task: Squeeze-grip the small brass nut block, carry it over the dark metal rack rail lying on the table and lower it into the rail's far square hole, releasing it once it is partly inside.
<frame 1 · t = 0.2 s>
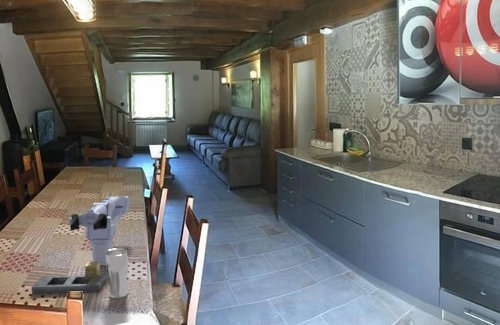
hand: (82, 227, 137), 21 cm above the table, tool horizontal, fingers open, 7 cm apart
nut block: (93, 279, 145), on the table
rack rail: (70, 287, 139), on the table
beer glass: (118, 294, 134), on the table
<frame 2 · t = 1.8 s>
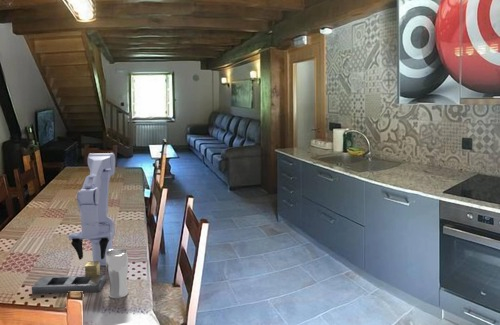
hand: (92, 258, 144), 8 cm above the table, tool pointing down, fingers open, 7 cm apart
nothing on the table moved.
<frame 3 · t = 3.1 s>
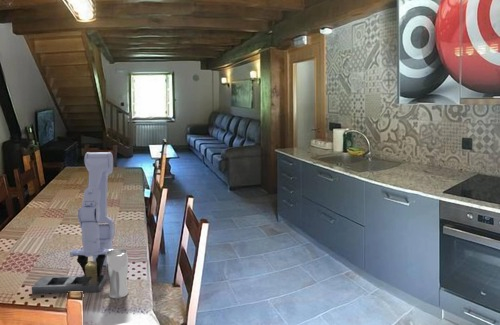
hand: (93, 274, 145), 2 cm above the table, tool pointing down, fingers closed on nut block, 4 cm apart
nut block: (93, 278, 145), on the table, touching gripper
everything else where it was.
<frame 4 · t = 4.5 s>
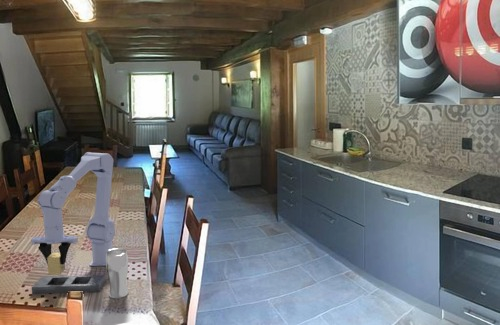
hand: (56, 263, 137), 9 cm above the table, tool pointing down, fingers closed on nut block, 4 cm apart
nut block: (57, 271, 137), point 6 cm above the table, touching gripper
everything else where it was.
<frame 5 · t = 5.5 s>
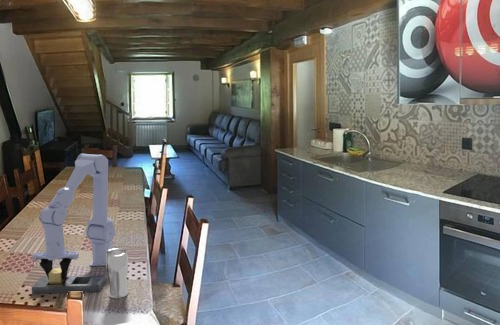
hand: (57, 278, 138), 3 cm above the table, tool pointing down, fingers closed on nut block, 4 cm apart
nut block: (58, 286, 138), resting in rack rail, touching gripper
everything else where it was.
when the fingers open (3 cm above the table, at t = 6.0 s): nut block stays where it is, resting in rack rail.
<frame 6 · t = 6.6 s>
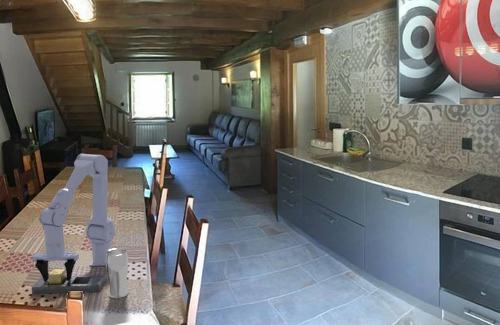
hand: (57, 280, 138), 3 cm above the table, tool pointing down, fingers open, 7 cm apart
nut block: (58, 288, 138), resting in rack rail
everything else where it was.
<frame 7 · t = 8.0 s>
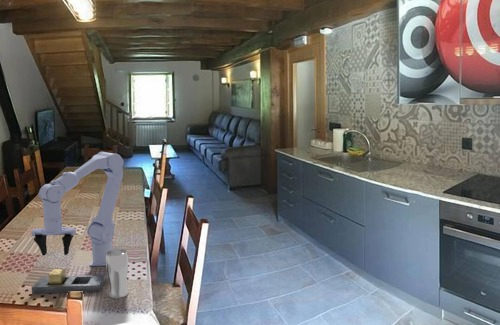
hand: (55, 254, 144), 9 cm above the table, tool pointing down, fingers open, 7 cm apart
nothing on the table moved.
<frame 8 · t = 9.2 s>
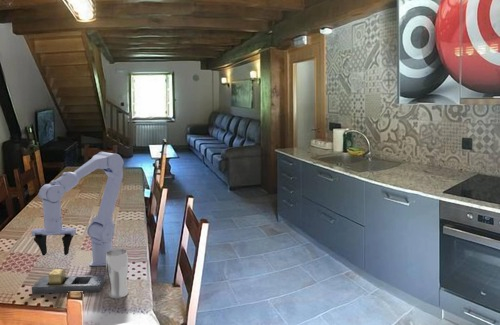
hand: (55, 254, 144), 9 cm above the table, tool pointing down, fingers open, 7 cm apart
nothing on the table moved.
at the end: nut block 0.2 cm from the target spot on the rack rail, point 0.0 cm above the rack rail's base; the gripper is holding nothing; nut block tilted 0° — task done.
